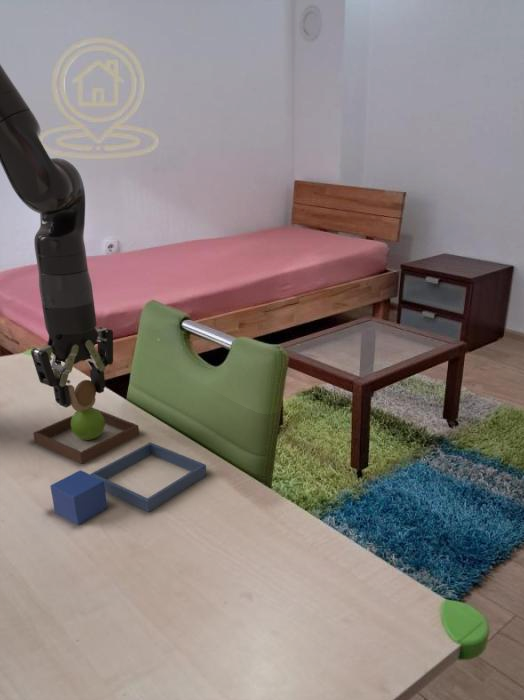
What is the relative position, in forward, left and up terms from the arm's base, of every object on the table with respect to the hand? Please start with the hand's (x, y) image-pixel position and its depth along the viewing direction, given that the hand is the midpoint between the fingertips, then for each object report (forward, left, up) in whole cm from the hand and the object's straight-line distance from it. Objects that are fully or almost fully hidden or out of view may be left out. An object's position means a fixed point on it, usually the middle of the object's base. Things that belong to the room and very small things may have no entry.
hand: (81, 398), depth 104 cm
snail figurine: (0, 0, -8) cm, 8 cm away
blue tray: (+18, -3, -8) cm, 20 cm away
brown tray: (0, 0, -8) cm, 8 cm away
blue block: (+16, -14, -8) cm, 23 cm away
